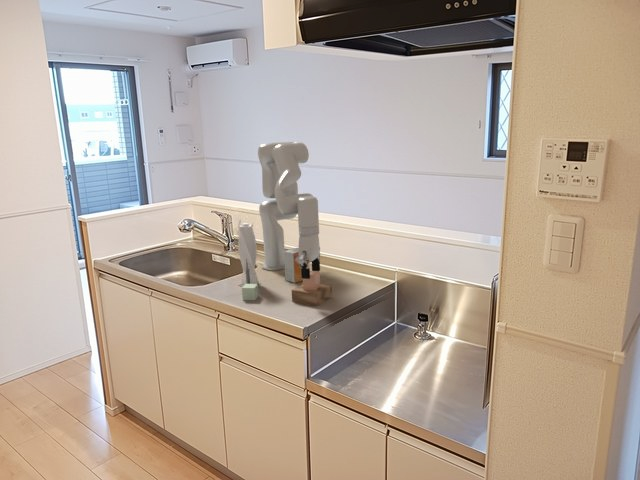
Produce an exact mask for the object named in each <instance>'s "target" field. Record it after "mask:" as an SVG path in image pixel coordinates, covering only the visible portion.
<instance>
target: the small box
mask: <svg viewBox="0 0 640 480" xmlns="http://www.w3.org/2000/svg"><path fill="white" fill-rule="evenodd" d="M284 262H285V269H284V275H285V279H284V280H285V281H288V282H290V283H295V284H296V283H298V282H301V281H302V282H303V278H302V275H301V266H300V262H299V247H295V248H291V249H287V250H285V251H284ZM306 265H307V263H306Z"/></svg>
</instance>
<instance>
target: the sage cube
mask: <svg viewBox="0 0 640 480" xmlns="http://www.w3.org/2000/svg"><path fill="white" fill-rule="evenodd" d="M241 295H242V301H256V300H257V298H258V297H259V296H260V295H259V285H258V284H245V285H244V286H243V287H242V286H241Z"/></svg>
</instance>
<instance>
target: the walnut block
mask: <svg viewBox="0 0 640 480" xmlns="http://www.w3.org/2000/svg"><path fill="white" fill-rule="evenodd" d="M332 288H333V286H332V285H330V284H326V283H325V284H324V283H320V287H319V288H318V289H317V290H316V291H315V290H303V283H302V284H300V285H298V286H297V287H295V288H292V289H291V301H292V302H293V303H297V304H303V305H309V306H313V307H318V306H319V305H321V304H323V303H324V302H326V301H327V300H330V299H331V298H332V297H333V289H332Z"/></svg>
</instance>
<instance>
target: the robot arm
mask: <svg viewBox="0 0 640 480" xmlns="http://www.w3.org/2000/svg"><path fill="white" fill-rule="evenodd" d="M257 155H258V156H257V157H258V160H259V163H260V166H261V170H262V171H261V178H262V179H261V180H262V183H261V184H262V195H263V197H265V198H266V199H267V200H264V201H263V202H261V203H260V204H259V207H258V211H259V215H260V220H261V225H262V226H261V227H262V238H263V250H264V251H263V252H264V253H263V254H264V263H262V264H261V268H262V270H265V271H281V270H285V262H284V251H286V247H285V233H284V228H283V226H282V225H281V224H280V223H279V221H284V220H292V219H294V218H296V217H297V219H298V220H297V221H298V235H299V238H298V248H299V262H300V266H301V275H302V278H303V279H310V271H321V263H320V262H321V258H320V256H321V247H320V237H319V235H320V219H319V218H320V217H319V200H318V198H317V197H315V196H314V195H313V194H312V193H308V192H307V193H306V192H305V193H299V191H298V190H299V187H298V180H300V178H301V177H302V170H301V168H300V166H299V164H305V163H307V162H308V160H309V156H310V153H309V149H308V147H307V146H306V144H305V143H303V142H298V141H287V142H286V141H284V142H270V143H269V142H268V143H262V144H260V145H259V147H258V149H257ZM306 263H307V265H306ZM310 263H311V269H310Z"/></svg>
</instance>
